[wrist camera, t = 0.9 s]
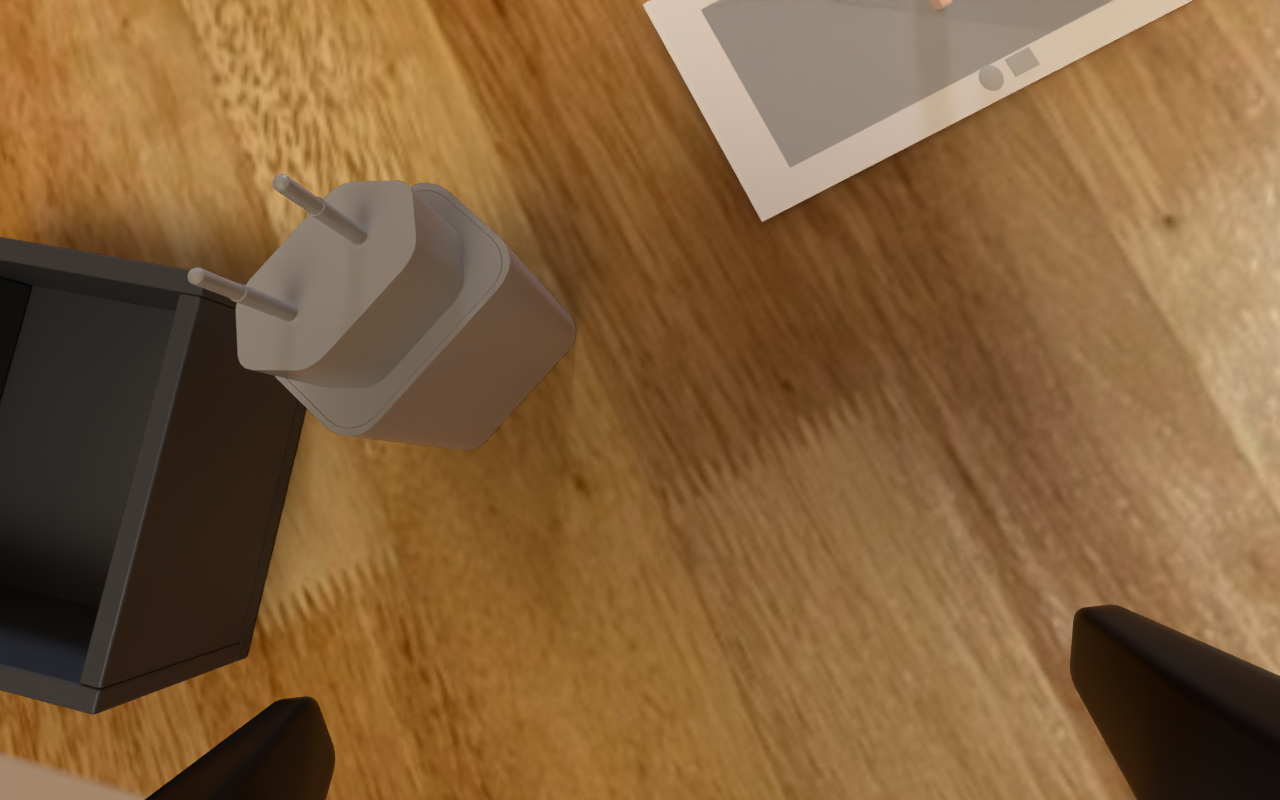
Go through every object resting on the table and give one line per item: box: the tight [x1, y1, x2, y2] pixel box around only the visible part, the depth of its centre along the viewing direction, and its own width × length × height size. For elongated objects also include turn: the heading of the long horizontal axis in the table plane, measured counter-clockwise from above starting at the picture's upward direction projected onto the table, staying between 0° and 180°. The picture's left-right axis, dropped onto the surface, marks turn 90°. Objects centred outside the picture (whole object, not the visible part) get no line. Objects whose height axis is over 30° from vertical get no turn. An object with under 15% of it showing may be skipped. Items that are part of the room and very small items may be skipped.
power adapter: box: [188, 174, 576, 451], centre depth 16 cm, size 3×5×12 cm, turn 138°
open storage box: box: [0, 237, 306, 714], centre depth 20 cm, size 11×11×6 cm
